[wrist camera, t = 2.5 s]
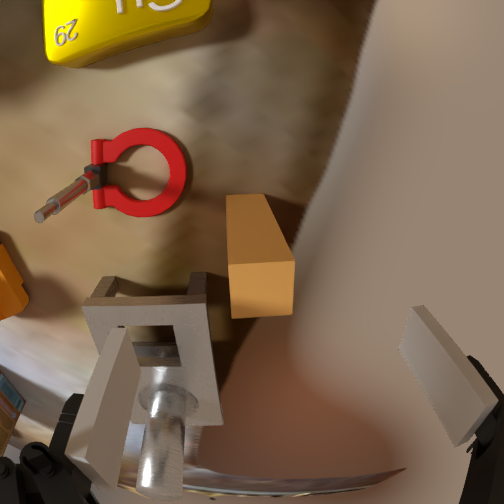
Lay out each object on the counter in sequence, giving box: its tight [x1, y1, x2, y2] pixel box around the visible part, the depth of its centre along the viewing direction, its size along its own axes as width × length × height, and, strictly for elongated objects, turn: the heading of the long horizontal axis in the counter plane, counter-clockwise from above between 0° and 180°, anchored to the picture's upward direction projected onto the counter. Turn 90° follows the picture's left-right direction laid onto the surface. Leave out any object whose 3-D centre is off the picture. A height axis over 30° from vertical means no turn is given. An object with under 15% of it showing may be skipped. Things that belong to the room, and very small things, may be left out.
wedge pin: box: [226, 194, 295, 319], centre depth 23 cm, size 4×4×14 cm
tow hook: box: [34, 128, 187, 223], centre depth 22 cm, size 8×13×9 cm
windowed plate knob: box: [81, 272, 223, 501], centre depth 28 cm, size 19×12×18 cm, turn 1°
